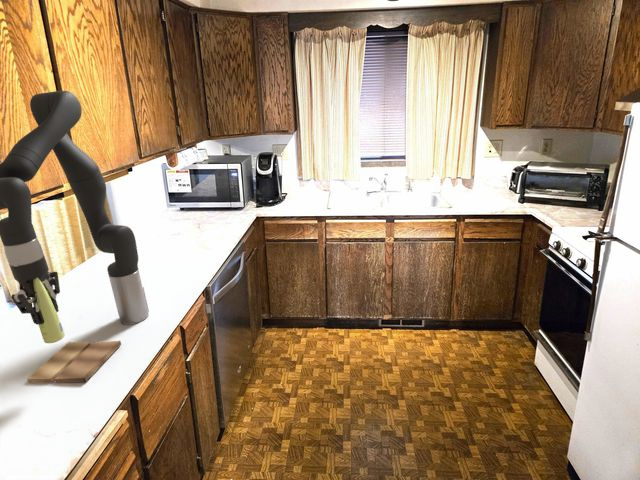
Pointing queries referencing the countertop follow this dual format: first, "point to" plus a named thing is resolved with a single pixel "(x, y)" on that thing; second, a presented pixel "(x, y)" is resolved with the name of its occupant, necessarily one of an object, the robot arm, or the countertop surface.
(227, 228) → the countertop surface
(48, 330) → the tube
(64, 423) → the countertop surface
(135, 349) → the countertop surface
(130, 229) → the robot arm
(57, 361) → the oak board
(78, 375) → the plank
